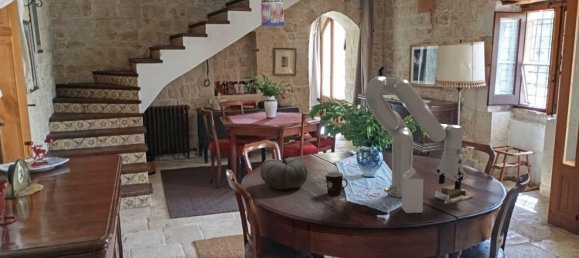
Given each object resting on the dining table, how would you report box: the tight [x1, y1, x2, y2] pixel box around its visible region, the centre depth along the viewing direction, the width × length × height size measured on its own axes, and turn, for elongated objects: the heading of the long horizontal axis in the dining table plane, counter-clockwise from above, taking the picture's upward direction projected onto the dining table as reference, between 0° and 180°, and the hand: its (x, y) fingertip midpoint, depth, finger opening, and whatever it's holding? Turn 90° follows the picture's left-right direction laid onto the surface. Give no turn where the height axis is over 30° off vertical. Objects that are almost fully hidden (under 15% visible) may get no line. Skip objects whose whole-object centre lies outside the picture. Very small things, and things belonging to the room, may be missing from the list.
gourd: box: [260, 155, 308, 191], centre depth 231 cm, size 25×25×17 cm
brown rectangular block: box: [440, 184, 462, 198], centre depth 209 cm, size 4×9×5 cm, turn 121°
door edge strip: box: [443, 194, 474, 205], centre depth 204 cm, size 18×1×1 cm, turn 118°
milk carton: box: [401, 166, 424, 214], centre depth 190 cm, size 7×7×19 cm
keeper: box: [434, 188, 468, 201], centre depth 209 cm, size 13×8×3 cm, turn 118°
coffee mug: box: [325, 171, 348, 197], centre depth 215 cm, size 12×9×10 cm
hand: (449, 186), depth 208 cm, fingers open, 9 cm apart
